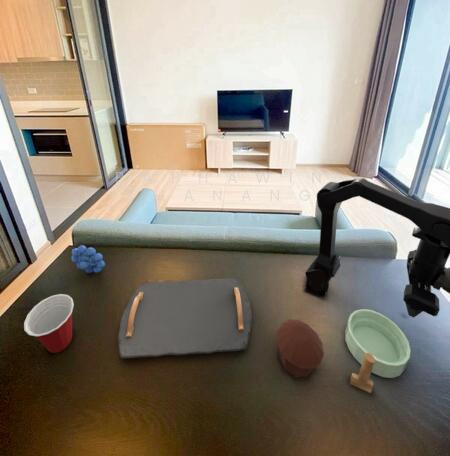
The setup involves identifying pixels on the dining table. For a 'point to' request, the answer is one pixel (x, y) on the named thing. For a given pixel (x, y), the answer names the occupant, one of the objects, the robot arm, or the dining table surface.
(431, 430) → the dining table surface
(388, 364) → the bowl
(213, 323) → the serving tray
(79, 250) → the grapes
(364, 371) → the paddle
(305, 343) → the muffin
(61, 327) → the plastic cup
